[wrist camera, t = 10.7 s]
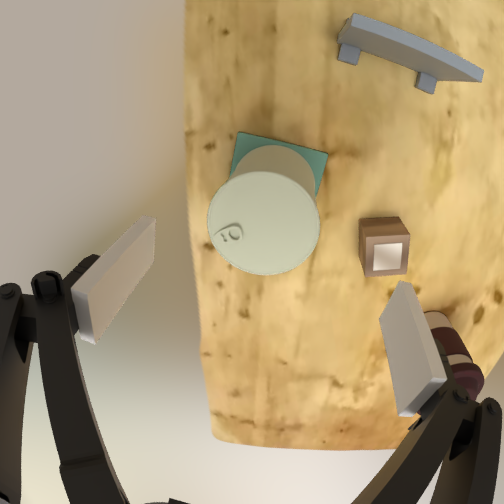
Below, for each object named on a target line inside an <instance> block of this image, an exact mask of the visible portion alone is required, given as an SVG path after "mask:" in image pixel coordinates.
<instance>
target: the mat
mask: <svg viewBox="0 0 504 504" xmlns="http://www.w3.org/2000/svg"><path fill="white" fill-rule="evenodd" d="M266 145H279V146H284V147H287V148H290V149H292V150H294V151H296V152H297V153H299V154H300V155H301V156H302V157H303V158H304V159H305V160H306V161H307V162H308V164H309V165H310V167H311V169H312V171H313V174H314V178H315V198H316V196H317V192H318V189H319V185H320V182H321V178H322V175H323V171H324V168H325V164H326V161H327V157H328V153H325V152H321V151H317V150H314V149H310V148H306V147H302V146H298V145H295V144H291V143H287V142H282V141H278V140H274V139H270V138H265V137H261V136H256V135H252V134H247V133H242V132H238V135H237V140H236V145H235V150H234V155H233V161H232V166H231V171H230V176H231V175H232V174H233V172H234V171H235V169H236V167H237V165H238V163H239V162H240V160H241V159H242V158H243V157H244V156H245V155H246V154H247V153H249V152H250V151H252V150H254V149H256V148H259V147H262V146H266ZM230 176H229V178H230Z"/></svg>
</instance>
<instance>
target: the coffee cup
mask: <svg viewBox="0 0 504 504" xmlns="http://www.w3.org/2000/svg"><path fill="white" fill-rule="evenodd" d="M424 315H425V318H426V320H427V323H428V325H429V328H430V331H431V333H432V336H433V338H435V339H438V340H439V341H440V343H441V344H442V345H443V347H444V349H445V352H446V357H448V360H449V363H450V366H451V369H452V372H453V375H454V377H455V380H456V383H457V384H459V385H461V386H463V387H464V388H465V389H466V390H467V392H468V393H469V395H470V399H471V400H473V401H475V400H476V398H477V395H478V394H479V393H480V391H481V389H482V387H483V385H484V376H483V374H482V371H481V369H480V367H479V366H477V365H476V364H474V363H473V360H472V358H471V356H470V354H469V352H468V350H467V349H466V347H465V345H464V343H463V342H462V340H461V338H460V336H459V335H458V333H457V332H456V331H455V330H454V329H453V327H452V325H451V324H450V322H449V320H448V319H447V317H446V316H445V315H444V314H442V313H440V312H427V313H424ZM417 413H418V414H419V415H421V413H420V409H419V410H418V411H417Z"/></svg>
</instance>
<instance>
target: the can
mask: <svg viewBox="0 0 504 504" xmlns="http://www.w3.org/2000/svg"><path fill="white" fill-rule="evenodd" d="M207 227H208V233H209V236H210V239H211V241H212V243H213V245H214V247H215V248H216V250H217V251H218V253H219V254H220V255H221V256H222V257H223V258H224V259H225V260H226V261H227V262H229V263H230V264H231V265H233V266H235V267H236V268H238V269H240V270H243V271H245V272H248V273H252V274H257V275H275V274H280V273H284V272H287V271H289V270H292V269H294V268H295V267H297V266H299V265H300V264H301V263H303V262H304V261H305V260H306V259H307V258H308V257H309V255H310V254H311V253H312V251H313V249H314V248H315V246H316V244H317V241H318V238H319V233H320V217H319V213H318V209H317V205H316V198H315V178H314V174H313V171H312V169H311V167H310V165H309V164H308V162H307V161H306V160H305V159H304V158H303V157H302V156H301V155H300V154H299V153H297V152H296V151H294V150H292V149H290V148H287V147H284V146H279V145H266V146H262V147H259V148H256V149H254V150H252V151H250V152H249V153H247V154H246V155H245V156H244V157H243V158H242V159H241V160H240V162H239V163H238V165H237V167H236V169H235V171H234V172H233V174H232V175H231V176H230V178H229V179H228V180H227V181H226V182H225V184H223V185H222V186H221V187H220V188H219V189H218V191H217V192H216V193H215V195H214V196H213V198H212V201H211V203H210V205H209V209H208V214H207Z"/></svg>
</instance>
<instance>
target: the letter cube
mask: <svg viewBox="0 0 504 504" xmlns="http://www.w3.org/2000/svg"><path fill="white" fill-rule="evenodd" d="M409 243H410V233H409V232H408V230H407V229H406V227H405V226H404V224H403V223H402V221H401V220H400V218H399V217H385V218H366V219H359V258H360V261H361V265H362V268H363V272H364V275H365V277H375V276H389V275H402V274H406V273H407V264H408V254H409Z"/></svg>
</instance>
